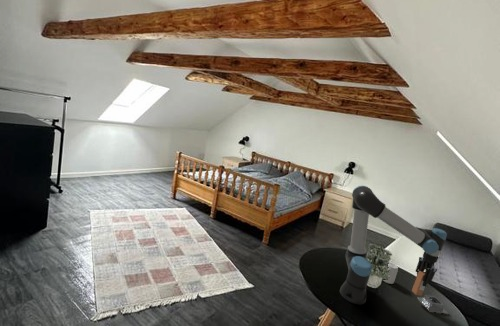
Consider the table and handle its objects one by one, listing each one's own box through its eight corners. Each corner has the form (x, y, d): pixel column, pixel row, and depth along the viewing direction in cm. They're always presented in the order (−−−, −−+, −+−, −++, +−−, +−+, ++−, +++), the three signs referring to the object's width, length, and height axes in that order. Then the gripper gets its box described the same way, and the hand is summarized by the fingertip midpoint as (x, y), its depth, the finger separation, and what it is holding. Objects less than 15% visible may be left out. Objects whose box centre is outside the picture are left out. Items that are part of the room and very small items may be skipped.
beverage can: (380, 281, 191) (385, 265, 189) (381, 275, 198) (386, 260, 196) (393, 286, 188) (398, 270, 185) (393, 280, 195) (398, 265, 192)
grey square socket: (429, 311, 167) (431, 305, 167) (417, 298, 179) (419, 292, 178) (448, 314, 168) (450, 308, 167) (434, 300, 180) (436, 294, 179)
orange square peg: (415, 294, 172) (423, 274, 169) (411, 290, 176) (419, 270, 173) (421, 295, 172) (429, 275, 169) (417, 291, 176) (425, 271, 173)
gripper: (447, 262, 160) (433, 297, 165) (428, 247, 177) (416, 279, 182) (435, 260, 159) (421, 295, 164) (417, 245, 176) (405, 277, 181)
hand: (418, 287), depth 173 cm, fingers closed on orange square peg, 4 cm apart
